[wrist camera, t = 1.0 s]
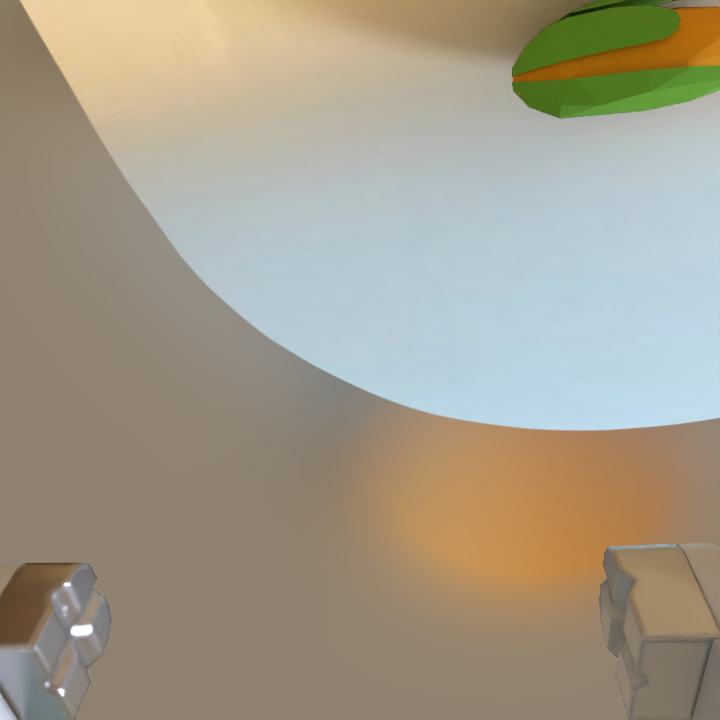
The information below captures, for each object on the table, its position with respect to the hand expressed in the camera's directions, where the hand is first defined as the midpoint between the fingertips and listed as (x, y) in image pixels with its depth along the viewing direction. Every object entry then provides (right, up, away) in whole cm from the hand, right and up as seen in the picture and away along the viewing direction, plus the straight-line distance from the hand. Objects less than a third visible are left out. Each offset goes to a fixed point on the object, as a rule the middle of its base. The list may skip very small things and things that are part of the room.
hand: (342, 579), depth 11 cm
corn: (+21, +27, +38) cm, 51 cm away
